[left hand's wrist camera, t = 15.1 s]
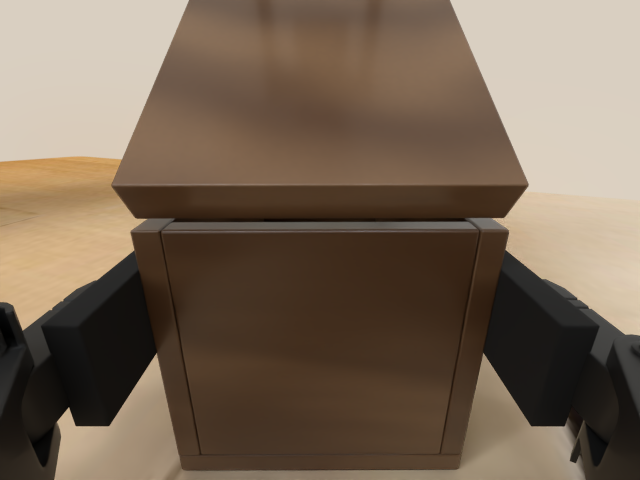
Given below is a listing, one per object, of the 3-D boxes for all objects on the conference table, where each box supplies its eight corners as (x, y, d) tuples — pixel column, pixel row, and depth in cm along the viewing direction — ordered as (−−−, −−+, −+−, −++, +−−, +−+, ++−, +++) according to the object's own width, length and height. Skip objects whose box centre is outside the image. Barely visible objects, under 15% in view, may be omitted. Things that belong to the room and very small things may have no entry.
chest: (258, 262, 27) (250, 147, 24) (380, 262, 27) (388, 147, 24) (181, 470, 12) (128, 230, 9) (459, 470, 12) (510, 230, 9)
